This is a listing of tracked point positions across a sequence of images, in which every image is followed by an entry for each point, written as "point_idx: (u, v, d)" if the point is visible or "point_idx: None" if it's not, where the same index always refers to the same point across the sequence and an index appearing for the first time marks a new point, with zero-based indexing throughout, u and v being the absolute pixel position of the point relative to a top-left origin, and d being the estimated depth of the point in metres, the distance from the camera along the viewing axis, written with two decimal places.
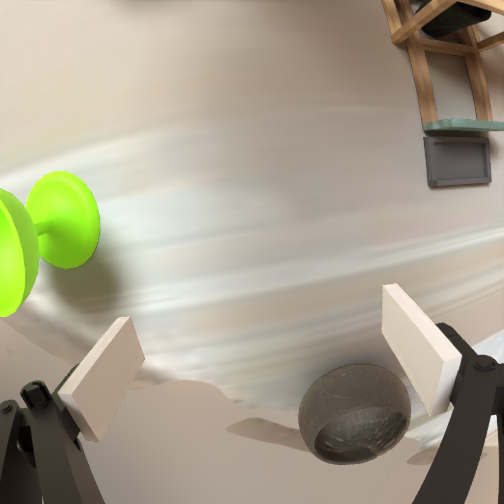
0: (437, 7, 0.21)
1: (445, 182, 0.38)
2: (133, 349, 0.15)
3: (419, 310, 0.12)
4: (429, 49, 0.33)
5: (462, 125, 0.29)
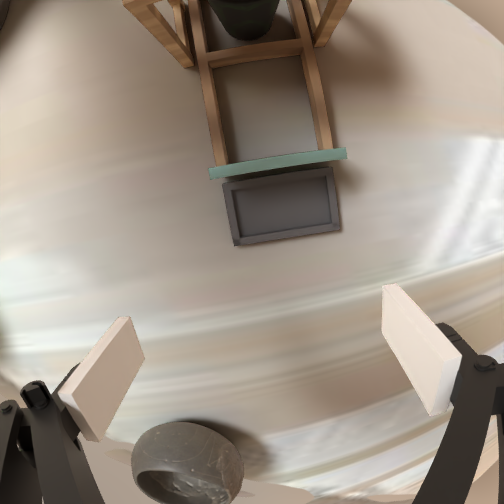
0: (143, 23, 0.18)
1: (253, 239, 0.35)
2: (133, 349, 0.15)
3: (419, 310, 0.12)
4: (231, 62, 0.30)
5: (228, 174, 0.27)
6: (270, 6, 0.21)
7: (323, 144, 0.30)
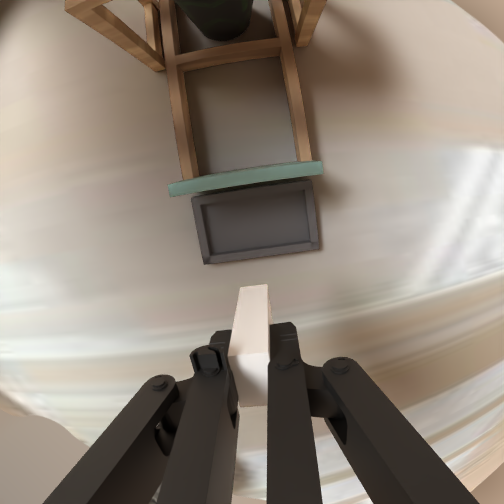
0: (94, 28, 0.15)
1: (224, 257, 0.33)
2: None
3: (265, 309, 0.14)
4: (203, 64, 0.27)
5: (189, 191, 0.24)
6: (240, 2, 0.19)
7: (301, 155, 0.28)
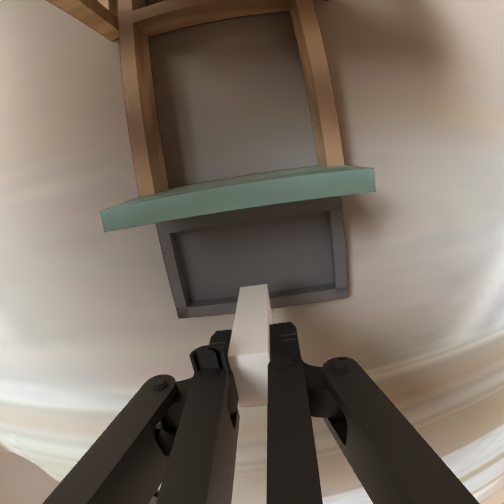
0: None
1: (208, 310, 0.22)
2: None
3: (265, 309, 0.14)
4: (176, 23, 0.16)
5: (134, 222, 0.13)
6: None
7: (327, 157, 0.17)
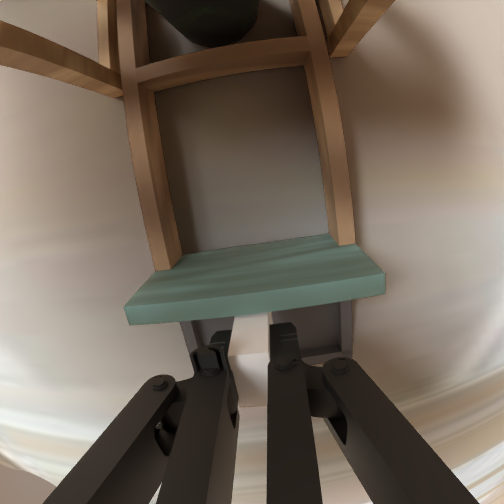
0: None
1: None
2: None
3: None
4: (183, 80, 0.17)
5: (158, 319, 0.14)
6: None
7: (339, 236, 0.18)
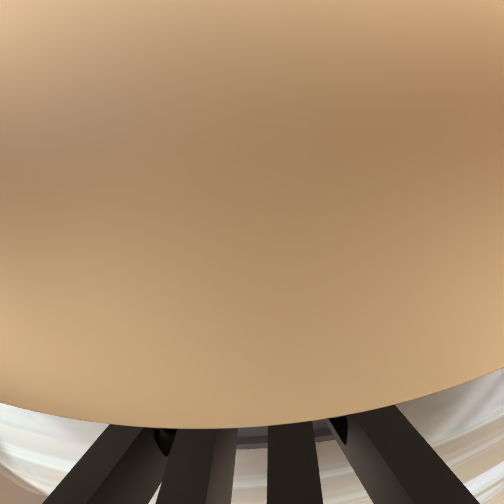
0: None
1: (245, 446, 0.26)
2: None
3: None
4: None
5: None
6: None
7: None
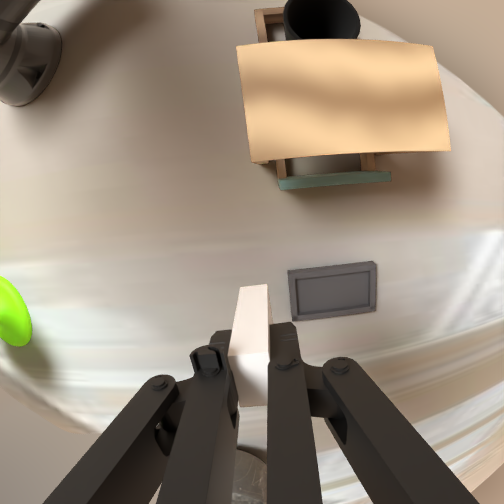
0: None
1: (308, 317, 0.43)
2: None
3: (265, 309, 0.14)
4: None
5: (296, 186, 0.32)
6: None
7: (368, 166, 0.35)
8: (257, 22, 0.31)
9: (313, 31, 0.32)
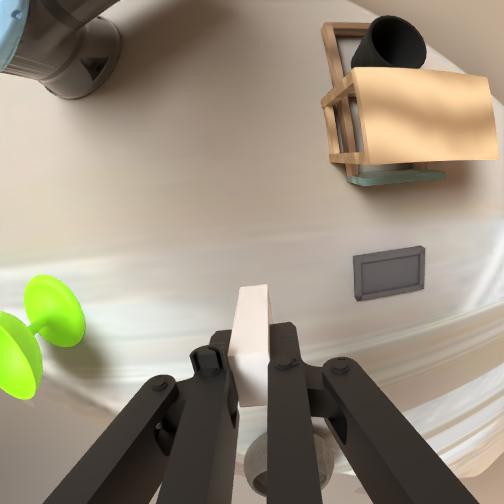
0: (358, 163, 0.30)
1: (370, 296, 0.47)
2: None
3: (265, 309, 0.14)
4: None
5: (376, 183, 0.36)
6: None
7: (421, 166, 0.39)
8: (328, 35, 0.35)
9: (375, 47, 0.35)
